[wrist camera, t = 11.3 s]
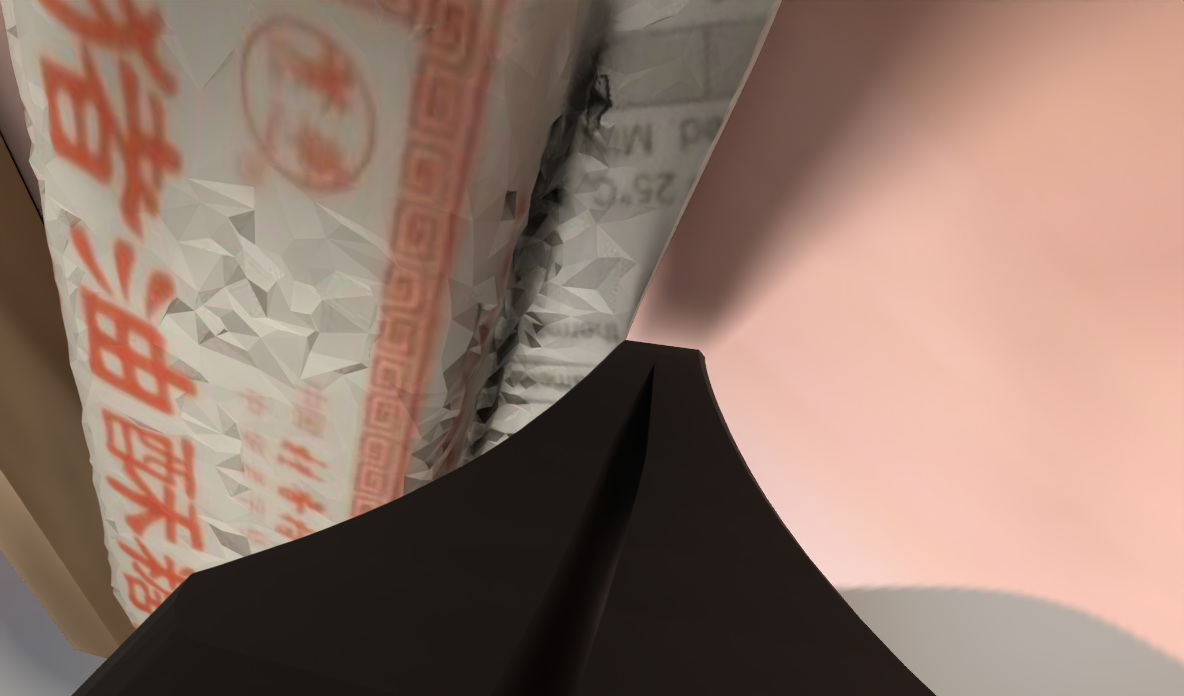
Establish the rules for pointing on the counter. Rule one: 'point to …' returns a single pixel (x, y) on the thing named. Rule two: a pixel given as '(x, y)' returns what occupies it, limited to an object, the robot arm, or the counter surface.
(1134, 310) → the counter surface
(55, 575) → the rail
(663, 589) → the robot arm
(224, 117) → the packaged product
